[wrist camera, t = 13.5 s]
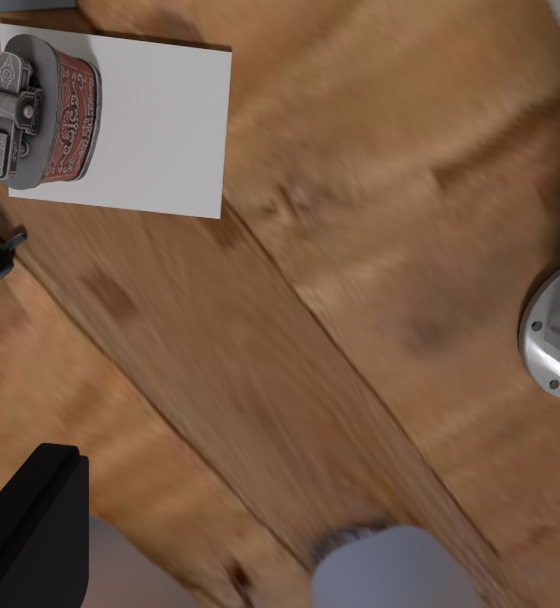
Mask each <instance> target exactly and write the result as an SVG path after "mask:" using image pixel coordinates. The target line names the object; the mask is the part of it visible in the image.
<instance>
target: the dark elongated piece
mask: <svg viewBox="0 0 560 608" xmlns="http://www.w3.org/2000/svg"><path fill="white" fill-rule="evenodd" d="M26 240H27V236H26V234H25V233H19V234H17V235H16V236H14V237H13V238H11V239H10V240H8V241H7V242H5V243H3V244H1V245H0V280H1V279H2V278H3V277H4V276H6V275H7V274H8V273H9V272H10V271H11V270H12V269H13V267H14V264H13V261H12V260H11V258H10V252H11V250H12V249H13V248H14V247H16V246H17V245H19V244H21V243H22V242H24V241H26Z"/></svg>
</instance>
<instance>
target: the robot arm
mask: <svg viewBox="0 0 560 608" xmlns="http://www.w3.org/2000/svg"><path fill="white" fill-rule="evenodd" d="M532 323H533V324H532ZM518 339H519V351H520V355H521V358H522V362H523V365H524V366H525V368H526V370H527V372H528V373H529V375H530V376H531V377H532V378H533V379H534V380H535V382H536V383H537V384H538V385H539V386H541V387H542V388H543V389H544V390H545V391H547V392H548V393H550V394H552V395H553V396H555V397H557V398H559V399H560V269H559V270H558V271H556V272H555V273H553V274H552V275H551V276H550V277H549V278H548V279H547V280H546V281H545V282H544V283H543V284H542V285H541V286H540V287H539V289H538V290H537V291H536V293H535V294H534V295H533V296H532V298H531V300H530V302H529V304H528V306H527V307H526V309H525V312H524V315H523V318H522V321H521V324H520V330H519V338H518ZM88 579H89V460H88V457H87V456H82V455H79V449H78V447H76V446H71V445H61V444H52V443H42V444H40V445H39V446H38V447H37V448H36V449H35V450H34V452H33V453H32V454H31V455H30V456H29V458H28V459H27V460H26V461H25V462H24V464H23V465H22V466H21V467H20V468H19V470H18V471H17V472H16V473H15V474H14V476H13V477H12V478H11V479H10V480H9V482H8V483H7V484H6V485H5V486H4V488H3V489H2V490H1V491H0V608H80V607H81V605H82V602H83V600H84V597H85V594H86V590H87V586H88Z"/></svg>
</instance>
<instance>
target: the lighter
mask: <svg viewBox="0 0 560 608" xmlns="http://www.w3.org/2000/svg"><path fill="white" fill-rule="evenodd" d="M101 114H102V78H101V74H100V72H99V71H98V69H97V68H96V67H95V66H94V65H93V64H92V63H90V62H88V61H86V60H84V59H82V58H79V57H71V56H69V55H67V54H65V53H62V52H60V51H58V50H56V49H55V48H54V47H53V46H51V45H50V44H49V43H48V42H46V41H44V40H42V39H40V38H38V37H36V36H34V35H29V34H20V35H16V36H14V37H13V38H11V39H10V40H9V41H8V43H7V44H6V46H5V49H4V51H2V52H0V182H2V183H3V184H4V185H5V186H8V187H10V188H12V189H17V190H25V189H31V188H36V187H37V186H39V185H40V184H43V183H49V182H56V181H62V182H73V181H78V180H80V179H82V178H83V177H84V176H85V174H86V173H87V170H88V168H89V165H90V162H91V160H92V157H93V155H94V152H95V148H96V144H97V140H98V135H99V131H100V124H101Z"/></svg>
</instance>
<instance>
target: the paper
mask: <svg viewBox="0 0 560 608" xmlns="http://www.w3.org/2000/svg"><path fill="white" fill-rule="evenodd" d="M20 34H29V35H34V36H36V37H38V38H40V39H42V40H44V41H46V42H48V43H49V44H50V45H51V46H53V47H54V48H55V49H56V50H58V51H60V52H62V53H65V54H67V55H69V56H71V57H79V58H82V59H84V60H86V61H88V62H90V63H92V64H93V65H94V66H95V67H96V68H97V69H98V71H99V72H100V74H101V78H102V114H101V124H100V131H99V135H98V140H97V144H96V148H95V152H94V155H93V157H92V160H91V162H90V165H89V168H88V170H87V173H86V174H85V176H84V177H83V178H82V179H80V180H78V181H73V182H62V181H56V182H49V183H43V184H40V185H39V186H37V187H36V188H31V189H25V190H17V189H12V188H10V187H9V196H12V197H21V198H30V199H39V200H49V201H58V202H67V203H77V204H86V205H95V206H105V207H114V208H123V209H133V210H142V211H151V212H161V213H170V214H179V215H188V216H198V217H207V218H216V219H220V215H221V201H222V188H223V174H224V160H225V147H226V133H227V119H228V105H229V92H230V78H231V64H232V52H224V51H216V50H208V49H200V48H192V47H184V46H176V45H168V44H160V43H152V42H144V41H136V40H128V39H120V38H112V37H104V36H96V35H89V34H81V33H73V32H65V31H57V30H49V29H41V28H33V27H25V26H17V25H9V24H1V23H0V42H1V52H2V51H4V49H5V46H6V44H7V43H8V41H9V40H10V39H11V38H13V37H14V36H16V35H20Z"/></svg>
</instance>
